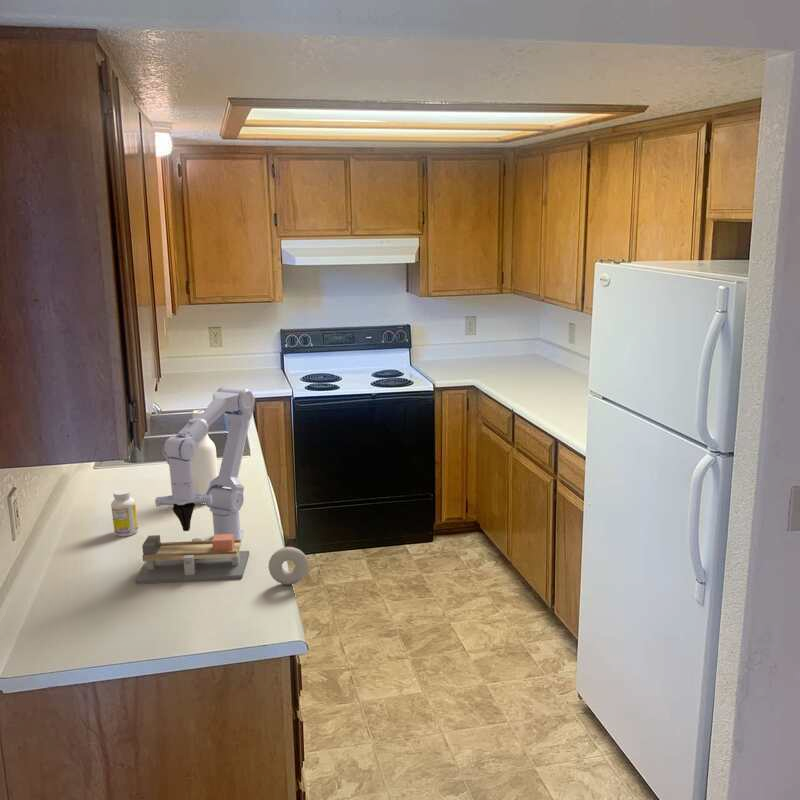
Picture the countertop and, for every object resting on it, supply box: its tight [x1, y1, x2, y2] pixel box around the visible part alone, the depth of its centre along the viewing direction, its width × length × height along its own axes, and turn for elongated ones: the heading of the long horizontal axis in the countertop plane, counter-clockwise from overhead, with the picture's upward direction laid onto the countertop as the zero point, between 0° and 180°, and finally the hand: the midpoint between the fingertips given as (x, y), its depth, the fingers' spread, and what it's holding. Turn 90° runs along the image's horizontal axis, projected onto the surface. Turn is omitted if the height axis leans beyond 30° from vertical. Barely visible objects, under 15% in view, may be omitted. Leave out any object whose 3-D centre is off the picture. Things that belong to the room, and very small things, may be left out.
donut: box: [268, 546, 310, 586], centre depth 200 cm, size 10×3×10 cm, turn 96°
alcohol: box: [191, 409, 219, 495], centre depth 258 cm, size 9×9×30 cm
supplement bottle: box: [110, 488, 139, 537], centre depth 235 cm, size 7×7×13 cm
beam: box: [141, 534, 242, 562], centre depth 210 cm, size 8×24×4 cm, turn 93°
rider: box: [211, 534, 234, 551], centre depth 210 cm, size 4×5×3 cm
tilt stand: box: [134, 537, 250, 584], centre depth 211 cm, size 15×27×6 cm, turn 93°
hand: (186, 529), depth 213 cm, fingers closed
